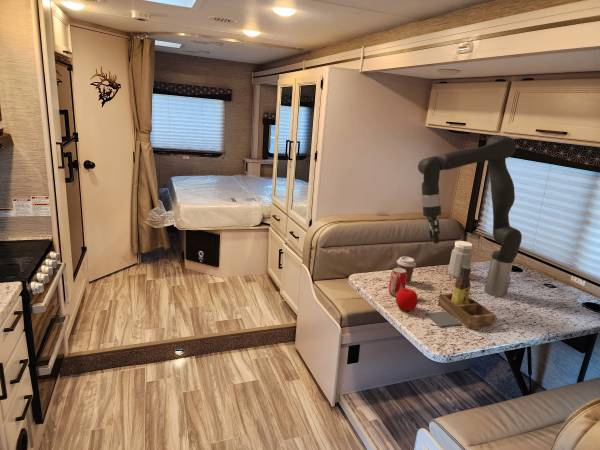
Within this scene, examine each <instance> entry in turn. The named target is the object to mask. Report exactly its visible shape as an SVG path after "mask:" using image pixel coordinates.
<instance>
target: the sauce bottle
mask: <svg viewBox="0 0 600 450" xmlns="http://www.w3.org/2000/svg"><path fill="white" fill-rule="evenodd" d="M471 272H472V267H471V266H470V267H469V266H466V265H462V266H461V272H460V276H459V277H458V278H455V282H454V286H453V291H452V293H453V294H452V299H451V301H452V302H453V303H454V304H456V305H463V304H467V300H468V296H469V295H470V291H471V286H472V285H471V281H470V275H471ZM469 297H470V296H469Z"/></svg>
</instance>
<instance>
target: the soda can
mask: <svg viewBox="0 0 600 450" xmlns="http://www.w3.org/2000/svg"><path fill="white" fill-rule="evenodd" d="M392 269H393V270H392V271H391V273H390V278H389V285H388V293H389V294H390V295H391V296H392V297H396V295H397V293H398V292H399V291H400V290H401V289H406V287H407V286H406V285H407V284H406V279H407V273H406V270H405V269H403V268H398V267H394V268H392Z"/></svg>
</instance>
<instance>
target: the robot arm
mask: <svg viewBox="0 0 600 450" xmlns="http://www.w3.org/2000/svg"><path fill="white" fill-rule="evenodd" d="M485 143H486V144H485V145H483V146H480V147H473V148H464V149H457V150H454V151H450V152H447V153H444V154H440V155H435V156H434V155H433V156H430V157H426V158H422V159H421V160H420V161H419V162H418V165H417V170H418V171H419V173H421V175H423V182H421V195H422V196H421V197H422V198H421V204H422V205H421V206H422V215H423V216H424V217H426V223H427V229H428V232H429V239H430V240H433V244H439V243H440V239H439V238H440V236H439V235H440V234H441V231H440V222H439V219H438V216H439V217H440V216H441V215H442V203H441V196H440V189H439V188H440V187H439V181H440V173H441V171H448V170H453V169H457V168H461V167H464V166H467V165H472V164H476V163H481V162H487V163H488V169H489V171H488V172H489V181H490V182H489V183H490V194H491V202H492V203H491V204H492V221H493V222H492V237H493V240H494V241H495V242H496V243H497V244H499V245H500V249H499V250H495V251H493V252H492V254H491V259H490V261H489V262H490V263H489V266H488V267H489V268H488V271H487V275H486V276H487V277H486V281H485V283H484V289H483V290H484V293H486V294H488V295H489V296H493V297H495V298H496V297H498V298H505V296H507V295H508V291H509V288H510V284H511V279H512V276H511V272H512V269H513V264H514V260H515V259H516V257H517V256H518V253H519V250H520V247H521V243H522V238H523V235H522V232H521V231H520V230H519V229H517V228H515V227H513V226H511V225H510V219H509V213H510V211H511V209H512V207H513V205H514V203H515V197H516V195H515V194H516V193H515V185H514V182H513V179H512V177H511V174H510V172H509V170H508V167H507V164H506V159H509V158H510V157H512V156H513V155H514V153H515V152H516V149H517V143H516V142H515V140H514V139H513V138H511V137H508V136H505V135H501V134H499V135H498V134H497V135H491V136H490V137H489V138H488V139H487V141H486V142H485Z"/></svg>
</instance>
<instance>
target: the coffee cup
mask: <svg viewBox="0 0 600 450" xmlns="http://www.w3.org/2000/svg"><path fill="white" fill-rule="evenodd" d="M396 264H397V268H403V269H405V270H406V273H407V279H406V285H410V284H411V280H412V277H413V272H414V269H415V267H416V265H417V263H416V262H415V259H414V258H413V257H410V256H400V257H399V258H398V259H397V260H396Z"/></svg>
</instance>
